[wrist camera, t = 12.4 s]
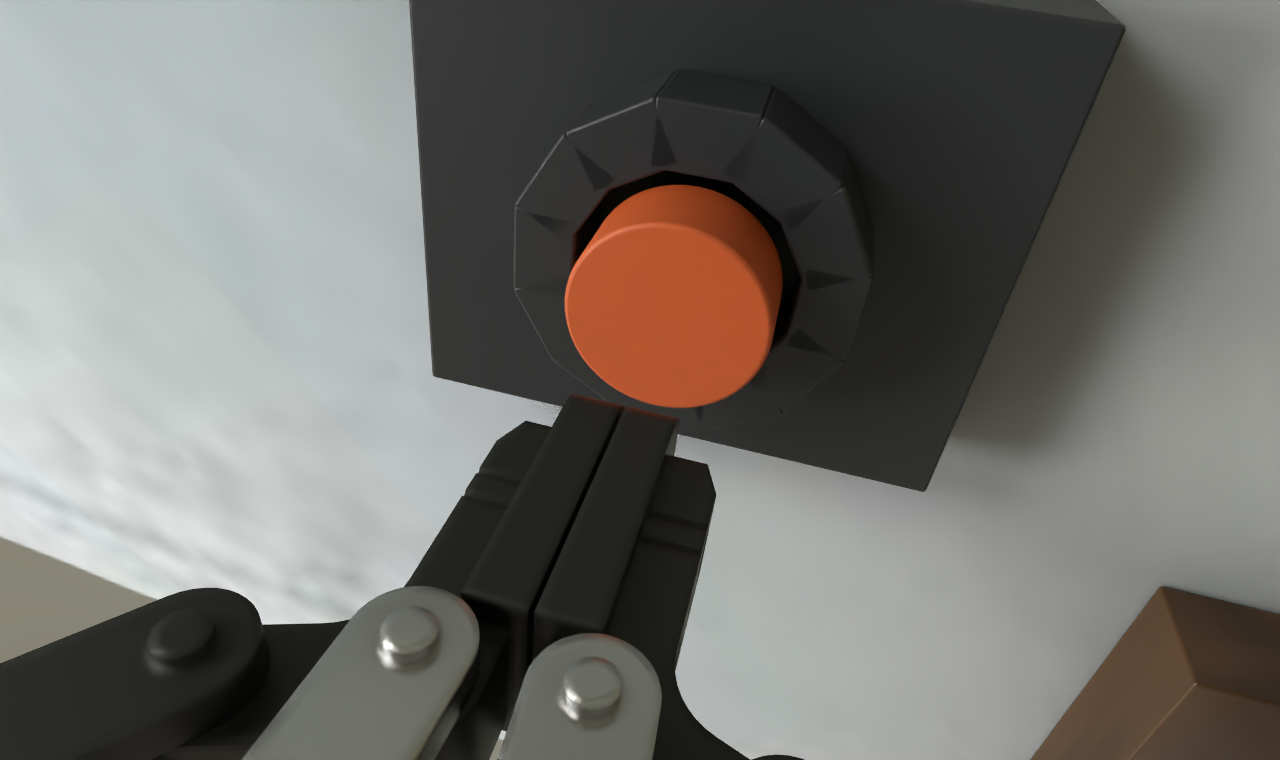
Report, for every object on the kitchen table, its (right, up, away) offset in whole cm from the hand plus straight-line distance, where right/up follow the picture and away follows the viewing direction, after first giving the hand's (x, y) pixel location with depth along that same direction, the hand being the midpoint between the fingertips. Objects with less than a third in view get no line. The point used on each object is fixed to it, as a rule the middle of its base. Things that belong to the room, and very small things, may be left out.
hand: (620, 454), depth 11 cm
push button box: (+2, +5, +7) cm, 9 cm away
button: (+1, +3, +4) cm, 5 cm away
